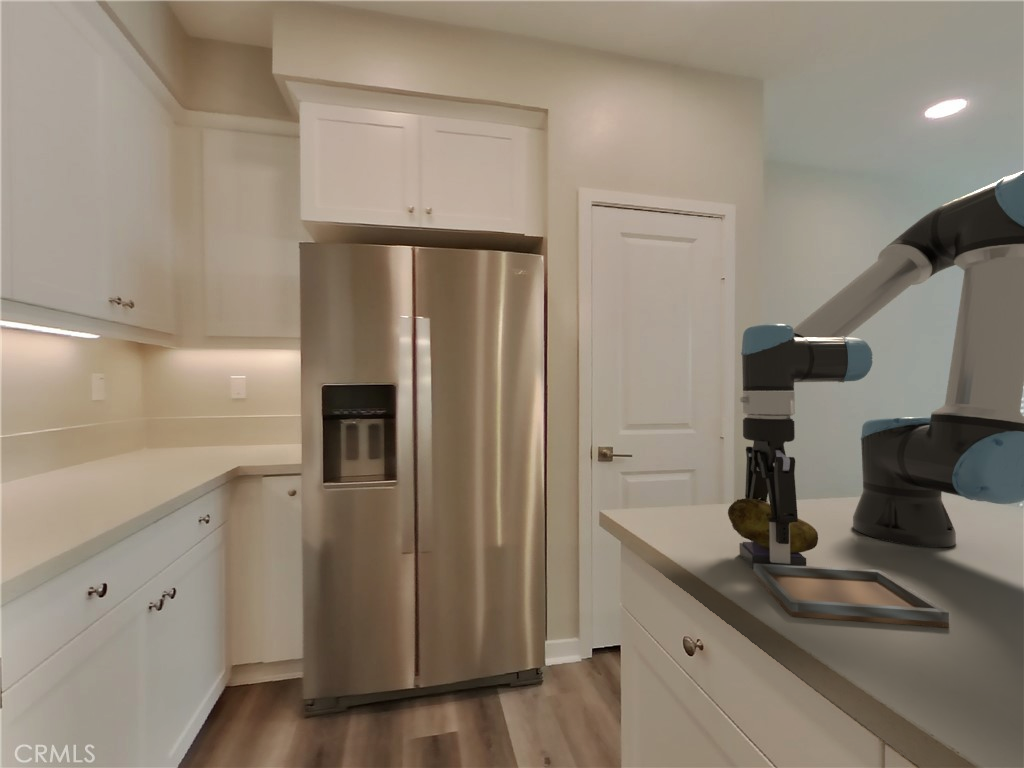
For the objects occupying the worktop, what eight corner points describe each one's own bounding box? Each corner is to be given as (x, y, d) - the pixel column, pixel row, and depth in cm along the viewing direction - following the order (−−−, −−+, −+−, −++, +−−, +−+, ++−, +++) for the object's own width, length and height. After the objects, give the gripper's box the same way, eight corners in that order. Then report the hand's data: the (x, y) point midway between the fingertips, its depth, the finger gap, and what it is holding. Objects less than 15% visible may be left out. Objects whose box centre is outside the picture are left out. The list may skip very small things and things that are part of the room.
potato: (819, 565, 66) (818, 512, 66) (725, 548, 73) (724, 500, 73) (818, 548, 72) (817, 500, 73) (732, 534, 80) (732, 491, 80)
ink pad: (789, 556, 75) (788, 542, 75) (806, 571, 69) (806, 556, 69) (739, 554, 77) (739, 540, 77) (752, 568, 71) (752, 553, 71)
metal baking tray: (879, 582, 65) (879, 570, 65) (949, 627, 53) (948, 612, 53) (753, 574, 68) (753, 563, 68) (791, 616, 56) (790, 602, 56)
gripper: (725, 413, 84) (726, 532, 84) (768, 420, 64) (770, 576, 64) (767, 413, 83) (768, 534, 82) (825, 421, 63) (827, 580, 62)
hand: (769, 552), depth 73 cm, fingers closed on potato, 7 cm apart
